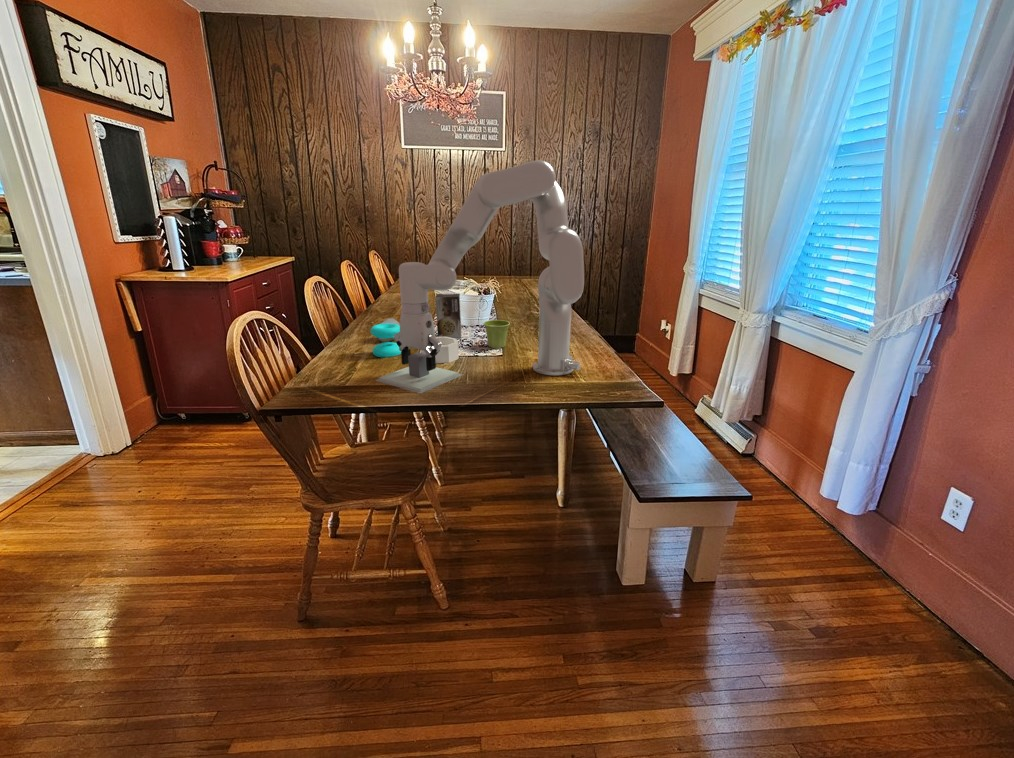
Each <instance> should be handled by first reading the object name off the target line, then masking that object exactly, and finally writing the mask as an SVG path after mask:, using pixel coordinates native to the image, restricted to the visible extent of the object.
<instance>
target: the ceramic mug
mask: <svg viewBox="0 0 1014 758" xmlns="http://www.w3.org/2000/svg"><path fill="white" fill-rule="evenodd" d="M384 323H392V324H397V325H399V326H400V321H398V320H396V319H395V318H393V317H391V318H386V319H384V320H383V321H382V322H380V324H384ZM377 340H378V341H379V342H381V343H385V342H391V341H392V342H393V341H395V342H397V341H396V339H395V337H393V338H377Z"/></svg>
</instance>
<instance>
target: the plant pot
mask: <svg viewBox="0 0 1014 758" xmlns="http://www.w3.org/2000/svg"><path fill="white" fill-rule="evenodd" d="M510 324H511V323H510V321H508V320H505V319H504V320H503V319H491V320H487V321H484V322H483V325H484V329H485V333H486V340H487V346H488V347H489V348H491V349H500V348H505V347H506V343H507V337H508V331H509V330H508V329H509V327H510Z"/></svg>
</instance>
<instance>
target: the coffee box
mask: <svg viewBox="0 0 1014 758" xmlns="http://www.w3.org/2000/svg"><path fill="white" fill-rule="evenodd" d="M435 310H436V311H435V312H436V327H437V328H436V329H437V337H450V338H456V339H461V338H462V334H463V333H462V317H461V316H462V315H461V311H462V310H461V294H460V293H437V294H435Z"/></svg>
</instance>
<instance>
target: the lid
mask: <svg viewBox="0 0 1014 758" xmlns="http://www.w3.org/2000/svg"><path fill="white" fill-rule="evenodd" d="M426 357H428V356H427V355H426V354H423V353H421V352H415V353H413V354H412V353H411V355H409V356H408V360H409V363H408V366H406V367H404V368H401V369H398V370H396V371H393V372H390V373H387V374H385V375H382V376H380V377H379V378H380V380H382V381H385V382H389V383H392V384H396V385H400V386H403V387H407V388H410V389H414V390H417V391H423V390H425V389H428V388H430V387H432V386H434V385H437V384H439V383H441V382H443V381H446V380H448V379H450V378H453V377H455V376H457V375H458V374H459V372H458V371H454V370H449V369H446V368H445V369H444V368H441V367H437V366H436V368H435V369H433V370H430V371H427V367H426Z"/></svg>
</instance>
